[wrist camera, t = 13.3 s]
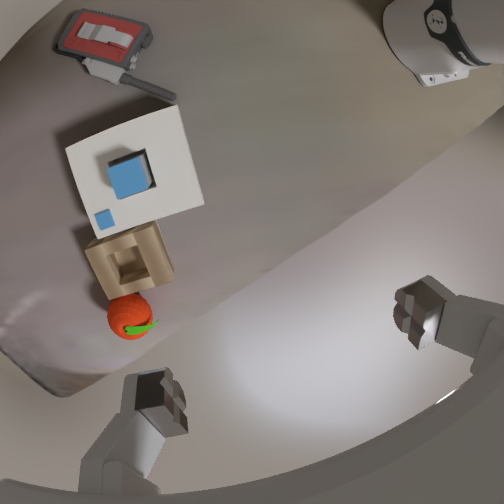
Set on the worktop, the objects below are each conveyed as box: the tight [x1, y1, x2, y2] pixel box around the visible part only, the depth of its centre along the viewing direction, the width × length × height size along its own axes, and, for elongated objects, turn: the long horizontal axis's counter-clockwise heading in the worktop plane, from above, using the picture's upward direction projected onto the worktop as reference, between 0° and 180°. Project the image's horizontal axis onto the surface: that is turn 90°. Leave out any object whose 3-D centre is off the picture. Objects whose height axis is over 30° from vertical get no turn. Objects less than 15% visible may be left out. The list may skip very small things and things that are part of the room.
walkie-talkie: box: [53, 9, 176, 101], centre depth 25 cm, size 9×4×20 cm
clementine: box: [107, 293, 159, 340], centre depth 39 cm, size 8×7×7 cm
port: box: [65, 105, 204, 239], centre depth 32 cm, size 14×12×5 cm
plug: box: [107, 152, 154, 200], centre depth 30 cm, size 4×4×7 cm
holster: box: [84, 220, 174, 300], centre depth 37 cm, size 10×8×4 cm
